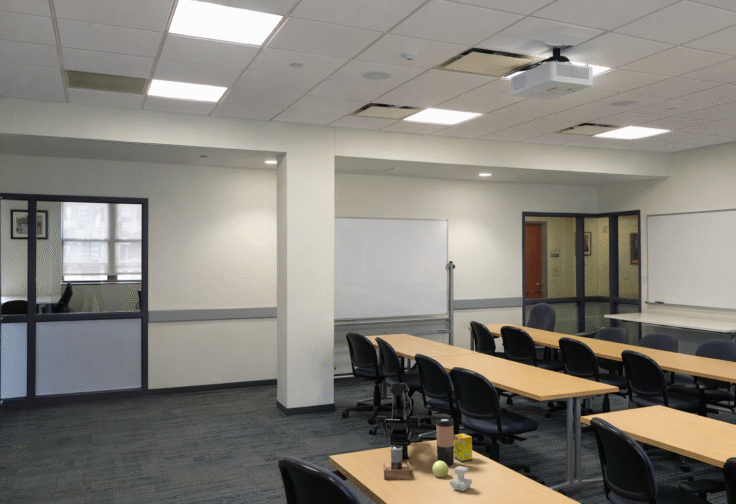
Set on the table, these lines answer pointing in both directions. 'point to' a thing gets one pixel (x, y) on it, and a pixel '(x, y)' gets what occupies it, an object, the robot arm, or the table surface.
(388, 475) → the holder
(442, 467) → the tennis ball
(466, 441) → the supplement box
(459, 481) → the stamp
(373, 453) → the table surface
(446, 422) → the travel mug
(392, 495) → the table surface
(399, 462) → the canister
